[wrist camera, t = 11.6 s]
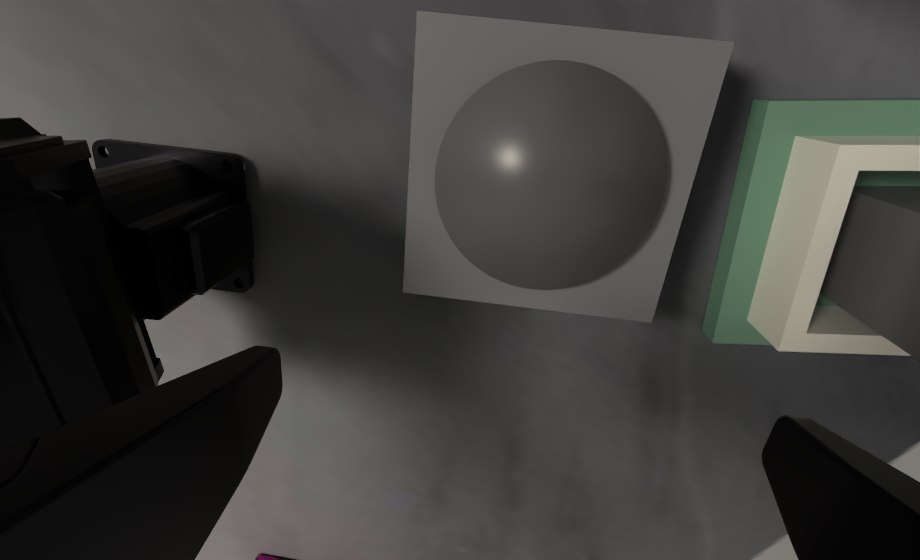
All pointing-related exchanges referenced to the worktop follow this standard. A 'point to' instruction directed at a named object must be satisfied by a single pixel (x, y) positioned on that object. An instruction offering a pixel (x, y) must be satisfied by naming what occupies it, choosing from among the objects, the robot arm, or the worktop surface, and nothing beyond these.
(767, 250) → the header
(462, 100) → the grey domed square block
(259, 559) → the candy bar box
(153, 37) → the worktop surface
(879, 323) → the dark grey tall block
